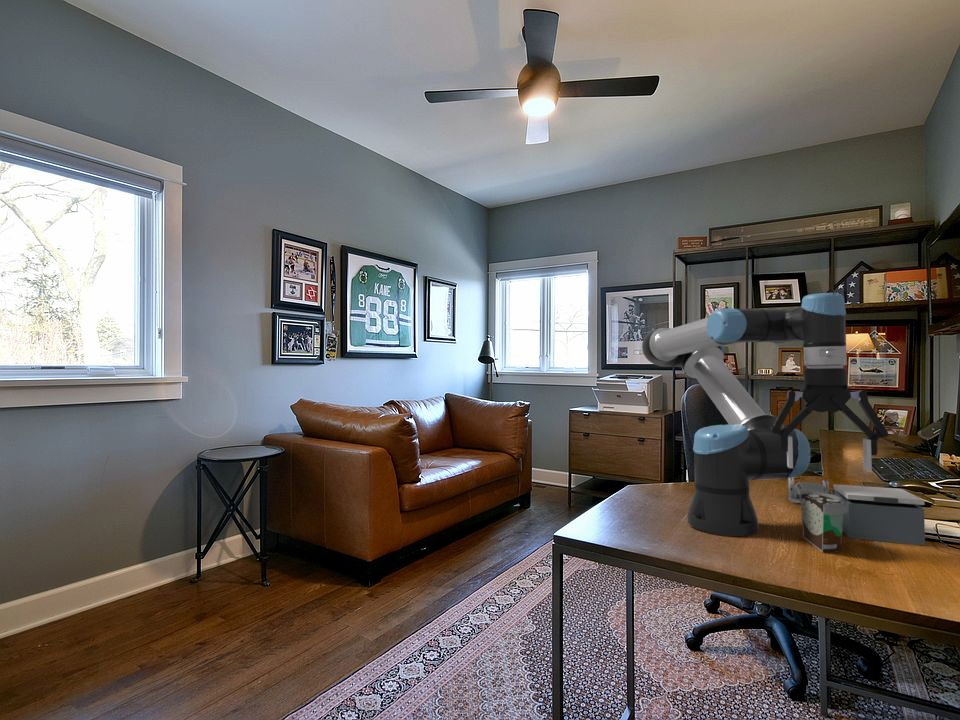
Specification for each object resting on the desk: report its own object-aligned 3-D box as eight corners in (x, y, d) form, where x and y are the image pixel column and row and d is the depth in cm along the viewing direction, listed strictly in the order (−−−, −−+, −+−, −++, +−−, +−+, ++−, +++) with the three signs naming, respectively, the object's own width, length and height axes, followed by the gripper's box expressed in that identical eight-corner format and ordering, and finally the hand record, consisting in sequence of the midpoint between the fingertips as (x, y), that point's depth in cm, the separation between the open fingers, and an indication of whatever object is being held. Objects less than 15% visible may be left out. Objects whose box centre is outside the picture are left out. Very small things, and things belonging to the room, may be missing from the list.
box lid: (848, 499, 111) (848, 495, 111) (833, 488, 124) (833, 484, 124) (926, 505, 105) (926, 500, 106) (901, 493, 119) (901, 488, 119)
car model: (829, 491, 154) (829, 474, 154) (840, 512, 132) (839, 492, 132) (786, 487, 159) (786, 471, 159) (789, 506, 138) (789, 488, 138)
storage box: (849, 537, 111) (848, 503, 112) (834, 519, 124) (834, 488, 124) (925, 545, 106) (924, 509, 106) (901, 526, 119) (901, 493, 119)
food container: (861, 557, 100) (859, 505, 101) (825, 555, 102) (824, 504, 102) (831, 536, 113) (830, 490, 113) (800, 535, 114) (799, 489, 114)
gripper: (759, 368, 109) (761, 468, 109) (905, 366, 99) (909, 476, 99) (756, 368, 116) (758, 462, 116) (893, 366, 106) (896, 469, 105)
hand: (827, 469), depth 107 cm, fingers open, 13 cm apart
